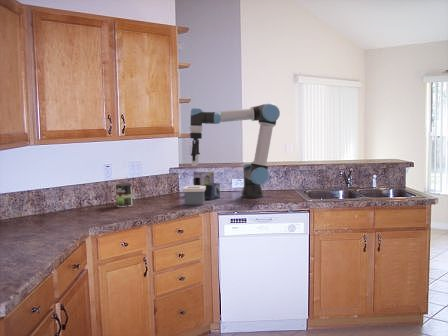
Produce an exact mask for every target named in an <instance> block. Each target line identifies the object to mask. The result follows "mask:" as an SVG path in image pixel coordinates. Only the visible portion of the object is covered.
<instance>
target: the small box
mask: <svg viewBox="0 0 448 336" xmlns="http://www.w3.org/2000/svg"><path fill="white" fill-rule="evenodd" d="M204 186H206V190H205V191H204V200H209V201H212V200H213V201H214V200H217V199H220V198H221V192H220V191H221V190H220V189H221V187H220V182H219V183H218V182H214V183H209V184H204Z"/></svg>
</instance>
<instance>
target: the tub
mask: <svg viewBox="0 0 448 336" xmlns="http://www.w3.org/2000/svg"><path fill="white" fill-rule="evenodd" d="M205 202H206V201H205V199H204V192H184V206H204V205H205Z"/></svg>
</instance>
